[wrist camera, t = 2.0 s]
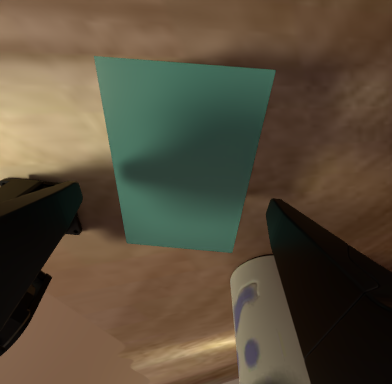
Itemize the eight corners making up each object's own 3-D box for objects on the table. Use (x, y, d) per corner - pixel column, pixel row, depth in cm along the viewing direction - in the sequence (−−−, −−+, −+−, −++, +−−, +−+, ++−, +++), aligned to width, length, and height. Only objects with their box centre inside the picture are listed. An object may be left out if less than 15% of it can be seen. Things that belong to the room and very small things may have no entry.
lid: (229, 232, 15) (232, 252, 14) (135, 223, 15) (126, 243, 14) (264, 68, 10) (275, 70, 8) (114, 57, 10) (93, 56, 8)
